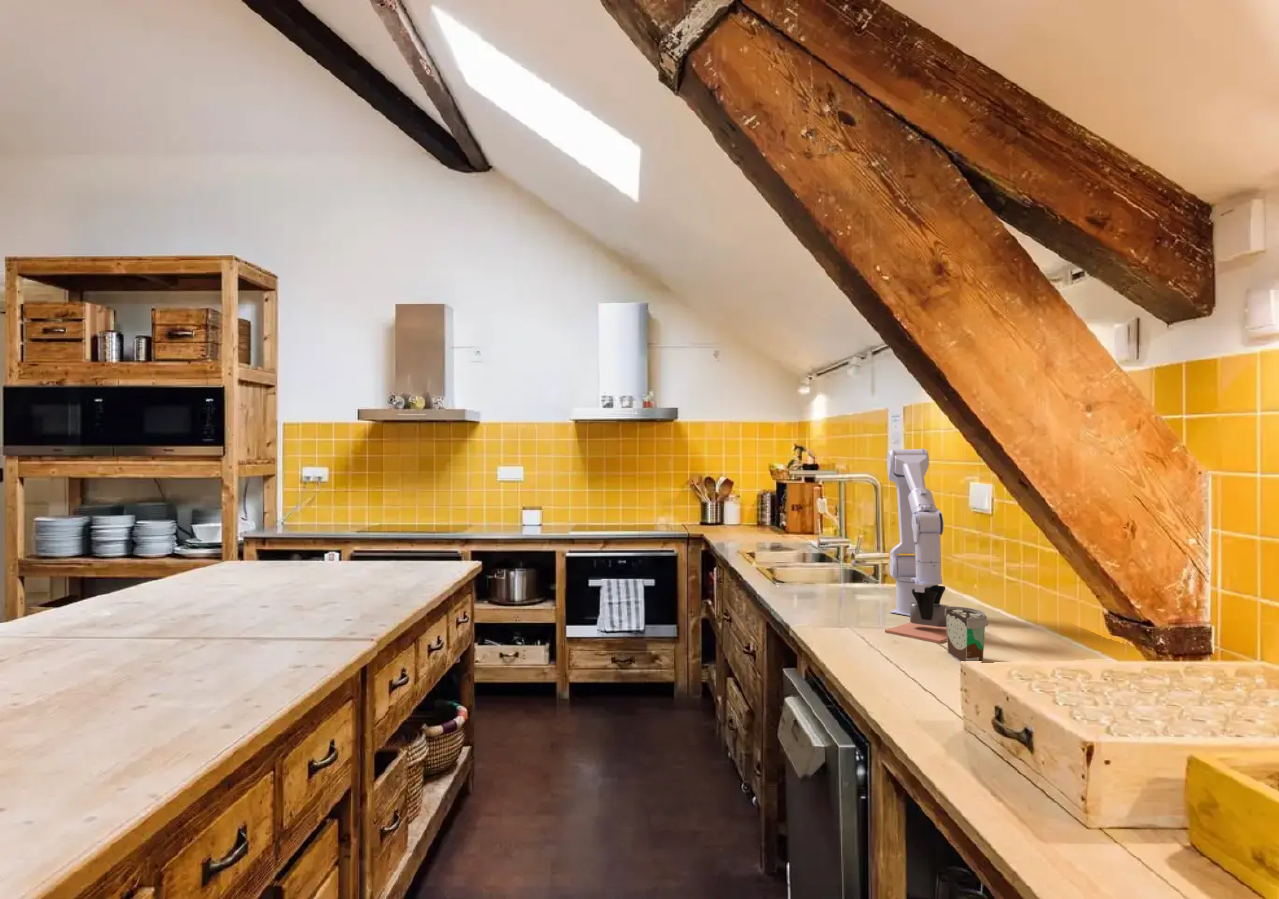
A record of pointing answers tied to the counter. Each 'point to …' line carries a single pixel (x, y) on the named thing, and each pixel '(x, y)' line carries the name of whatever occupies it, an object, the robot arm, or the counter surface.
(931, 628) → the mat
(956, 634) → the food container
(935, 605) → the plug
